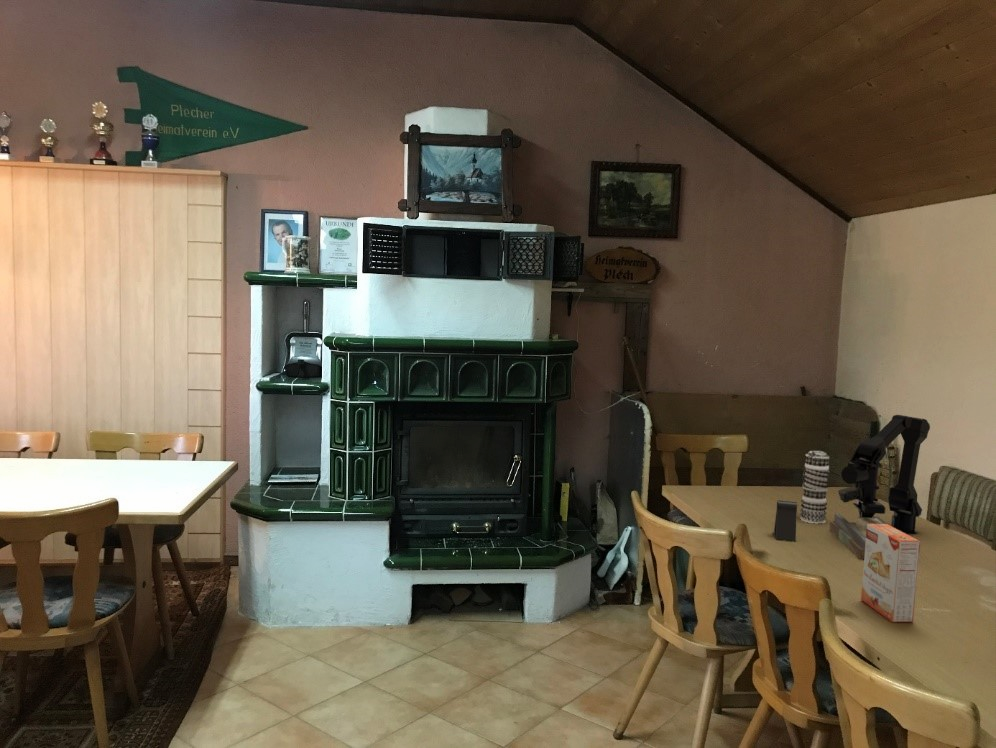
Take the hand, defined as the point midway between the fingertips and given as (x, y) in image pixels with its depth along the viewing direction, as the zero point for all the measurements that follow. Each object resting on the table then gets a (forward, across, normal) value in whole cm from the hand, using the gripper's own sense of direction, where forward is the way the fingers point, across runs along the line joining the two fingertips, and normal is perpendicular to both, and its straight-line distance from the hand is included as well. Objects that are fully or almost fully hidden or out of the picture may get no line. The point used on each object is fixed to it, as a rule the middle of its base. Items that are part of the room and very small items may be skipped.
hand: (863, 527), depth 253 cm
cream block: (+1, +5, 0) cm, 5 cm away
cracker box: (+4, +63, -15) cm, 65 cm away
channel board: (+4, +6, 0) cm, 7 cm away
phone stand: (+4, +4, -26) cm, 27 cm away
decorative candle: (+4, -19, -11) cm, 22 cm away
